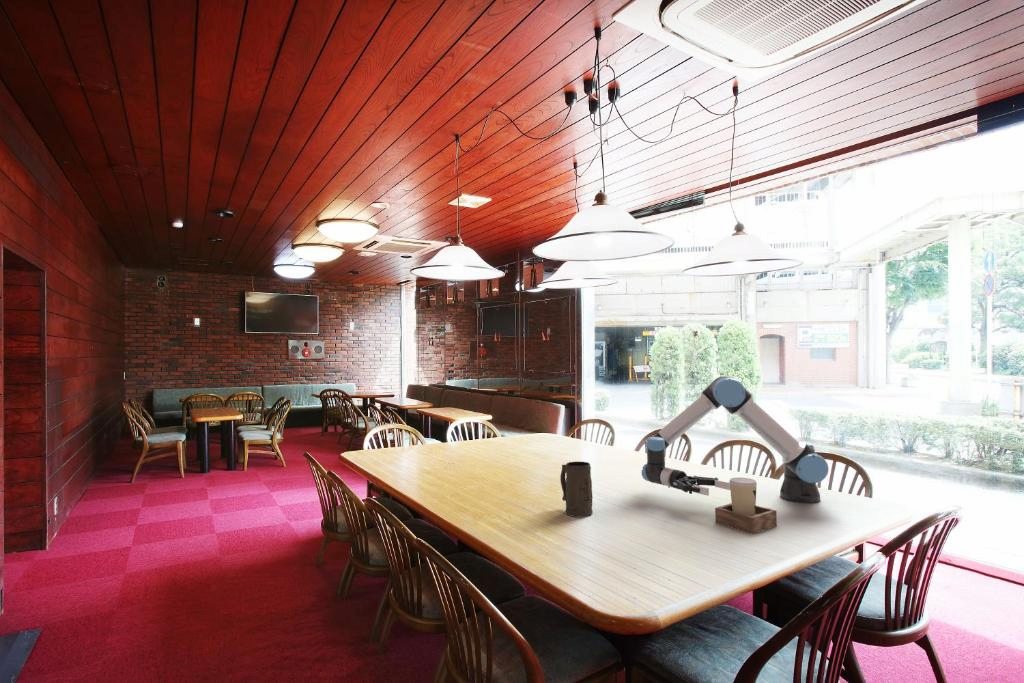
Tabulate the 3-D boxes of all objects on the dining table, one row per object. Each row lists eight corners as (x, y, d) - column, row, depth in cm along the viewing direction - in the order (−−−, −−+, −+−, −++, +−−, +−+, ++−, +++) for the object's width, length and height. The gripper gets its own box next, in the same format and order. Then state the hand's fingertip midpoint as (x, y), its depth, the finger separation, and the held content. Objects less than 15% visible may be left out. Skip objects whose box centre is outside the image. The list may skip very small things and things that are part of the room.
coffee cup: (761, 516, 190) (760, 483, 190) (734, 516, 191) (733, 483, 191) (752, 509, 199) (751, 477, 199) (726, 508, 200) (726, 477, 200)
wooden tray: (739, 515, 202) (739, 501, 202) (776, 525, 190) (776, 510, 190) (715, 522, 194) (715, 507, 194) (752, 534, 182) (752, 517, 182)
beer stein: (599, 512, 208) (596, 461, 209) (583, 519, 200) (580, 466, 201) (568, 508, 218) (565, 459, 220) (552, 514, 210) (549, 463, 212)
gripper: (693, 483, 225) (738, 493, 208) (654, 492, 212) (698, 504, 194) (693, 465, 226) (738, 474, 208) (653, 473, 212) (698, 484, 194)
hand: (719, 489), depth 201 cm, fingers open, 13 cm apart
